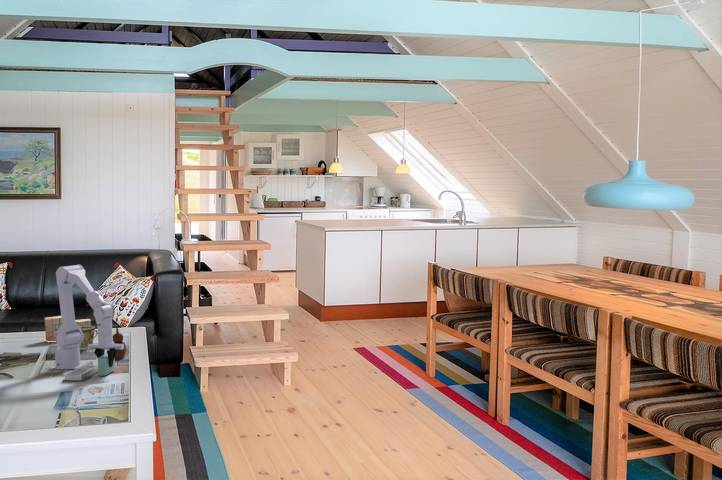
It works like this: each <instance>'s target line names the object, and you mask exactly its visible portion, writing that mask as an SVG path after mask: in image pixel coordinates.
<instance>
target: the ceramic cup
mask: <svg viewBox="0 0 722 480" xmlns="http://www.w3.org/2000/svg"><path fill="white" fill-rule="evenodd" d="M80 327H81V331H82V333H83V337H84V338H83V342H82V343H81V346H79V348H80V351H83V350H85V351H86V350H88V345H89V344H94V343H93V342H94V339H95V338H96V337H98V329H96V327H95V326H93V325H91V326H80ZM95 333H96V334H95Z"/></svg>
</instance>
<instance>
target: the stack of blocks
mask: <svg viewBox="0 0 722 480" xmlns="http://www.w3.org/2000/svg"><path fill="white" fill-rule="evenodd" d="M75 323H76V324H77V325H79V326H92V319H90V318H84V319H75ZM61 326H62V318H61V315H57V316H49V317H48V316H47V317H44V331H45V341H46V340H47V341H56V338H57V330H58V329H59V328H60V327H61ZM72 331H73V330H72ZM68 332H70V331H68Z"/></svg>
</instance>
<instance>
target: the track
mask: <svg viewBox="0 0 722 480" xmlns="http://www.w3.org/2000/svg"><path fill="white" fill-rule="evenodd" d="M96 375H99V374H98V364H96V365H94V361H88V362H86V363H84V365H83V366H81V367H79V368H77V369H72V371H70V372H68V373H66V374H64V378H63V379H62V382H68V383H69V382H70V383H71V382H74V383H76V382H81V383H84V382H86V381H88V380H90V379H91V378H93V377H94V376H96Z"/></svg>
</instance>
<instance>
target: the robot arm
mask: <svg viewBox="0 0 722 480" xmlns="http://www.w3.org/2000/svg"><path fill="white" fill-rule="evenodd" d="M55 278H56V285H57V290H58V297H59V298H58V299H59V307H60V308H59V309H60V316H61V318H62V326H61V327H60V328H59V329H58V330H57V338H56V342H55V343H56V344H57V346H58V347H57V348H56V349H55V353H54V358H55V359H54V360H55V361H54V362H55V363H54V364H55V367H54V369H55V370H75V369H77V368H79V367H81V366H83V365H85V363H81V354H80V353H81V350H80V348H79V346H81V343H82V342H83V338H84V337H83V333H82V331H81V327H80V326H79V325H77V324H76V323H75V320H76V315H75V307H74V306H75V305H74V298H73V286H74V285H75V284H76V285H77V286H78V287H79V288H80V290H81V291H82V292H83V293H84V294H85V300H86V302H87V303H88V305H89V306H90V307H91V308H92V310H93V316H94V318H95V324H97V325H96V326H97V332H98V334H97V343H93V344H89V345H88V350H94V351H93V352H94V355H95V356H96V358H97V359H98V358H99V357H101V356H103V355H105V354H108V359H109V367H112V366H113V361H114V358H115V355H116V353H117V351H118V349H120V350H122V349H124V344H116V343H114V342H113V335H114V334H113V332H114V331H113V317H114V316H115V315H116V311H115V308H114V305H113V304H112V303H109V302H107V301H106V300H105V299H104V298H103V296H102V294H101V293H100V292H99V291H98V290H95V289H94V288H93V287H92V285H91V283H90V282H89V281H88V279H87V277H86V269H84V267H83V265H81V264H76V265H75V264H73V265H67V266H66V265H65V266H59V267H58V268H57V269H56V271H55ZM72 330H73V331H72ZM68 331H70V332H68ZM105 351H106V353H105Z"/></svg>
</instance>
